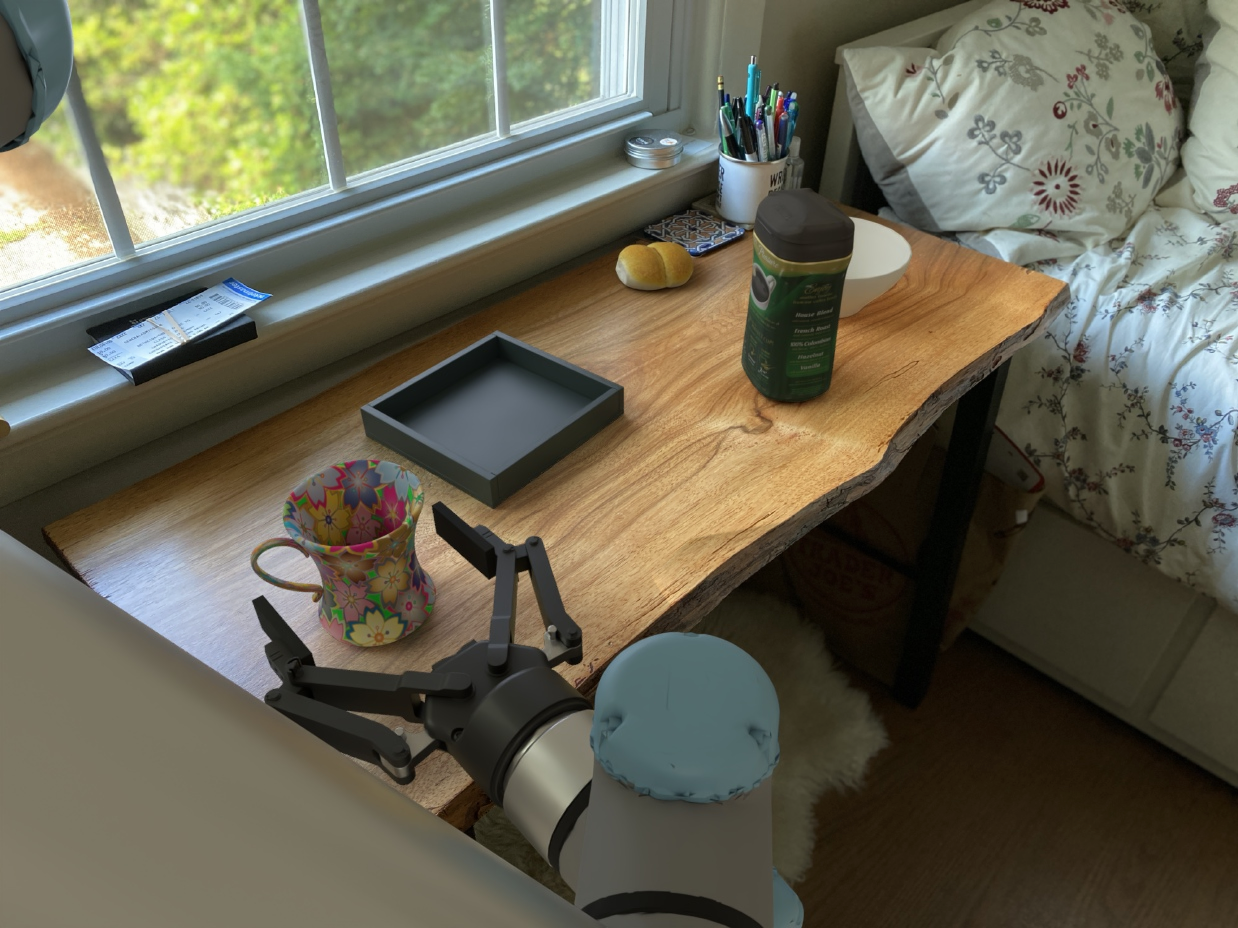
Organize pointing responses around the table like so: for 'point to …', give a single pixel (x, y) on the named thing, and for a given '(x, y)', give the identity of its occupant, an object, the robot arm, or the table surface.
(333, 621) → the mug
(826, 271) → the coffee jar
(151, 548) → the table surface
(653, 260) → the bread roll
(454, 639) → the table surface
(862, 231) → the bowl
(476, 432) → the tray
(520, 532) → the table surface
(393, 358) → the table surface
